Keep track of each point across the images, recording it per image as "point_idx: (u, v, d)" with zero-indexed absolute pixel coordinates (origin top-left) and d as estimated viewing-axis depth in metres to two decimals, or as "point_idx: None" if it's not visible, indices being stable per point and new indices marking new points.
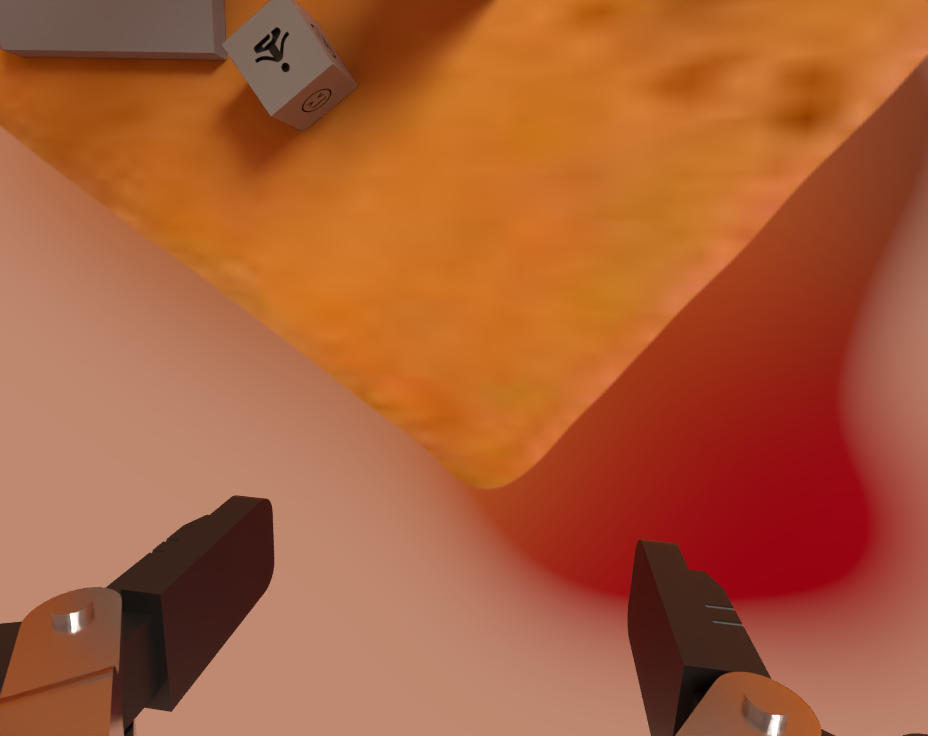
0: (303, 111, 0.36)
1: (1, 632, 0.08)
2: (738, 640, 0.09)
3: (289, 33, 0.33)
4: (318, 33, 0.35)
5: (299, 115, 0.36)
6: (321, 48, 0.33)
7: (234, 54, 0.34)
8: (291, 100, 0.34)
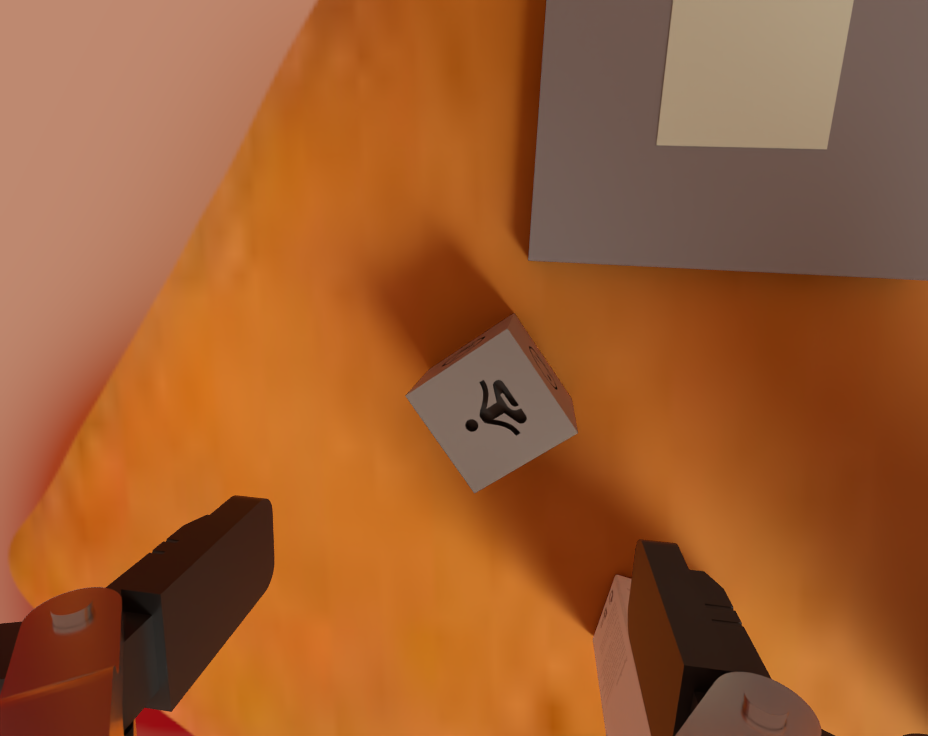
0: None
1: (1, 632, 0.08)
2: (738, 640, 0.09)
3: (518, 433, 0.22)
4: None
5: None
6: (495, 479, 0.23)
7: (492, 347, 0.22)
8: None
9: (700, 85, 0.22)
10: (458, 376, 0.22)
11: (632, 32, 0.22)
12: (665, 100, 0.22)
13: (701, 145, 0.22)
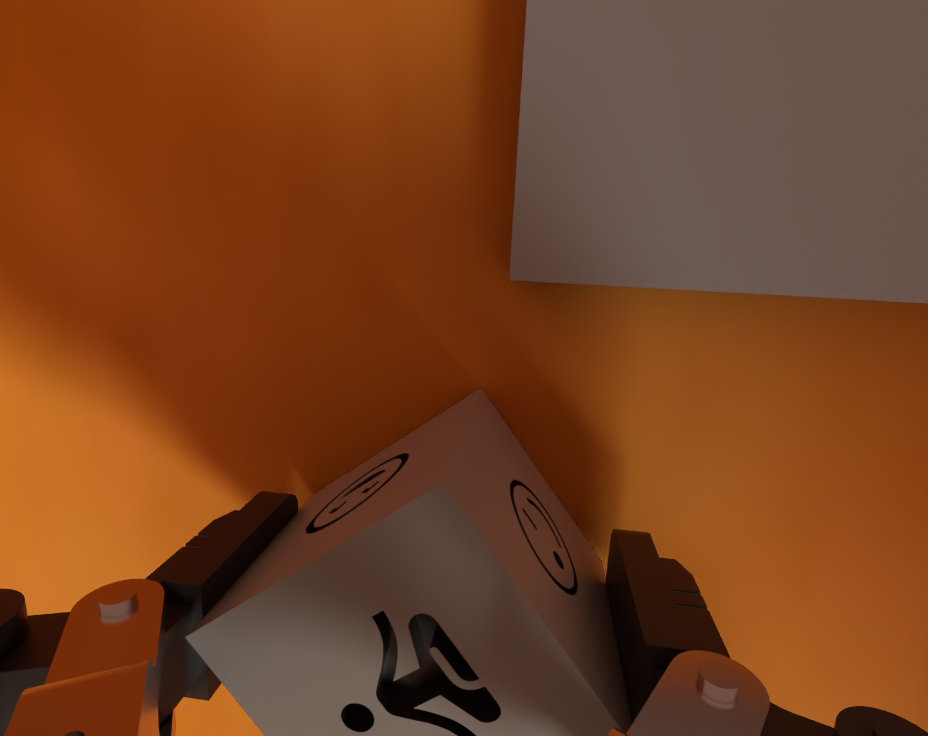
0: None
1: (47, 622, 0.08)
2: (702, 623, 0.09)
3: None
4: None
5: None
6: None
7: (404, 531, 0.08)
8: None
9: None
10: (316, 599, 0.08)
11: None
12: None
13: None
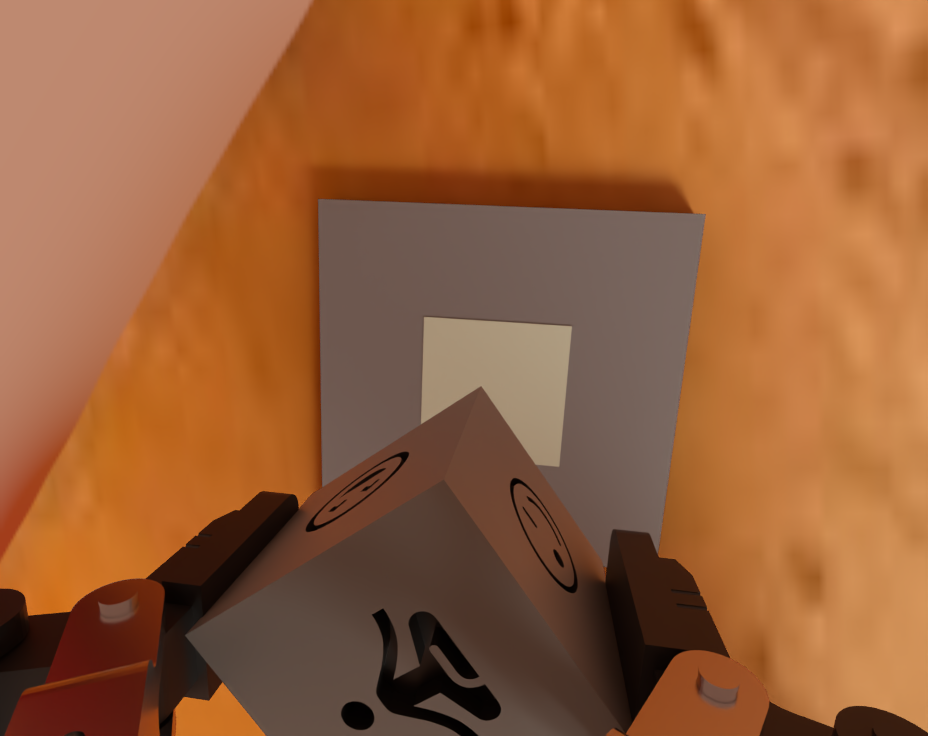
0: None
1: (47, 622, 0.08)
2: (702, 623, 0.09)
3: None
4: None
5: None
6: None
7: (404, 529, 0.08)
8: None
9: None
10: (316, 597, 0.08)
11: (393, 365, 0.25)
12: (425, 418, 0.25)
13: None
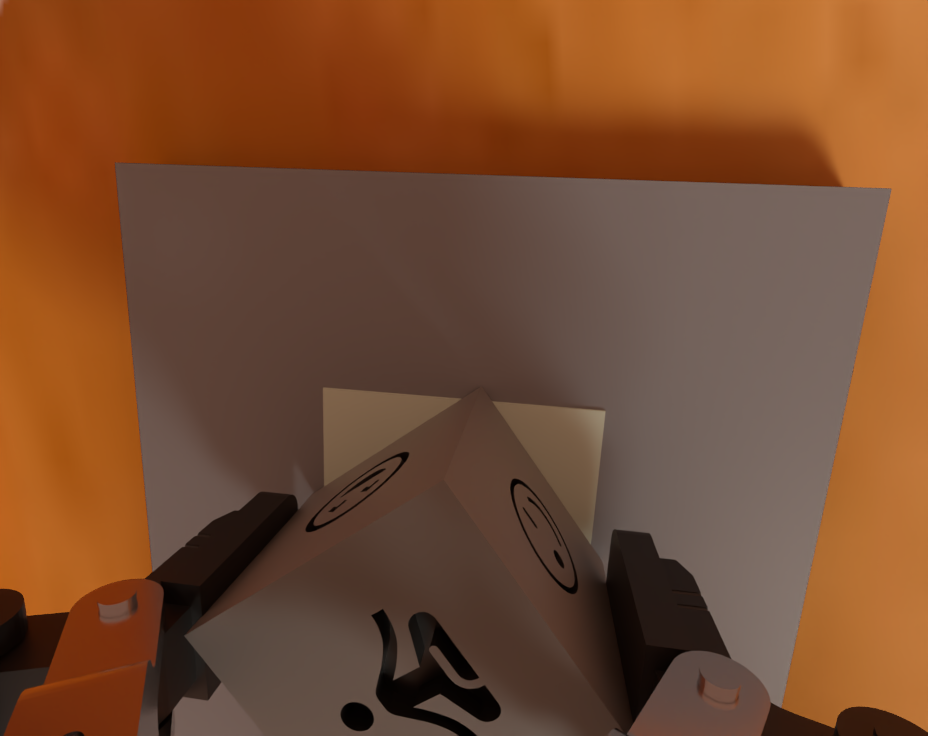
0: None
1: (47, 622, 0.08)
2: (702, 623, 0.09)
3: None
4: None
5: None
6: None
7: (404, 529, 0.08)
8: None
9: None
10: (315, 597, 0.08)
11: (271, 473, 0.14)
12: None
13: None
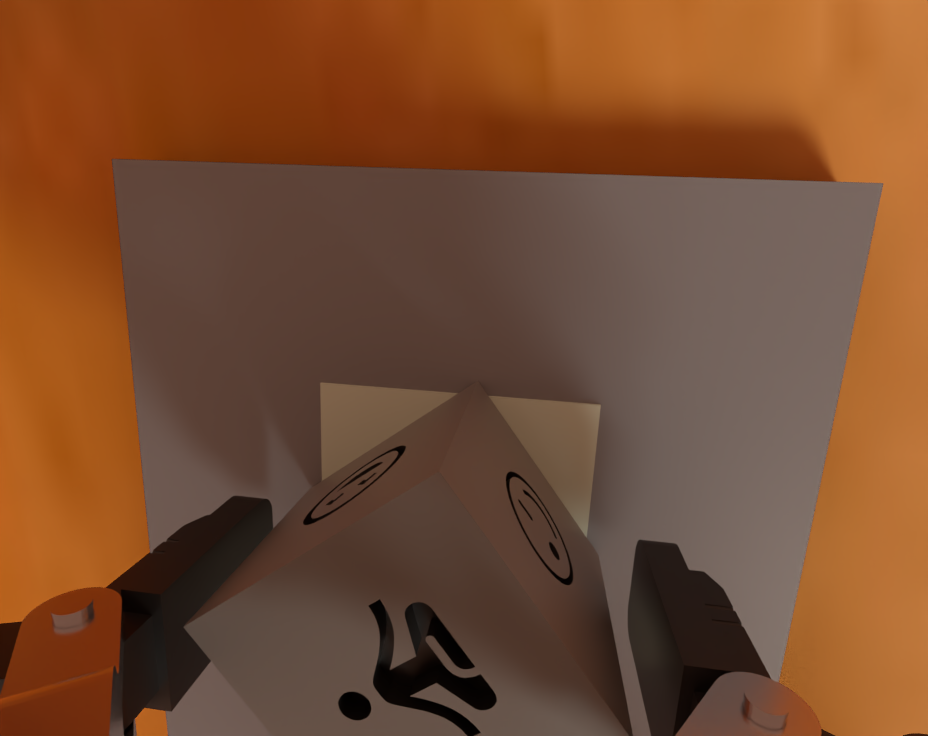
0: None
1: (1, 632, 0.08)
2: (738, 640, 0.09)
3: (476, 726, 0.09)
4: None
5: None
6: None
7: (400, 520, 0.08)
8: None
9: None
10: (313, 588, 0.08)
11: (269, 468, 0.14)
12: None
13: None
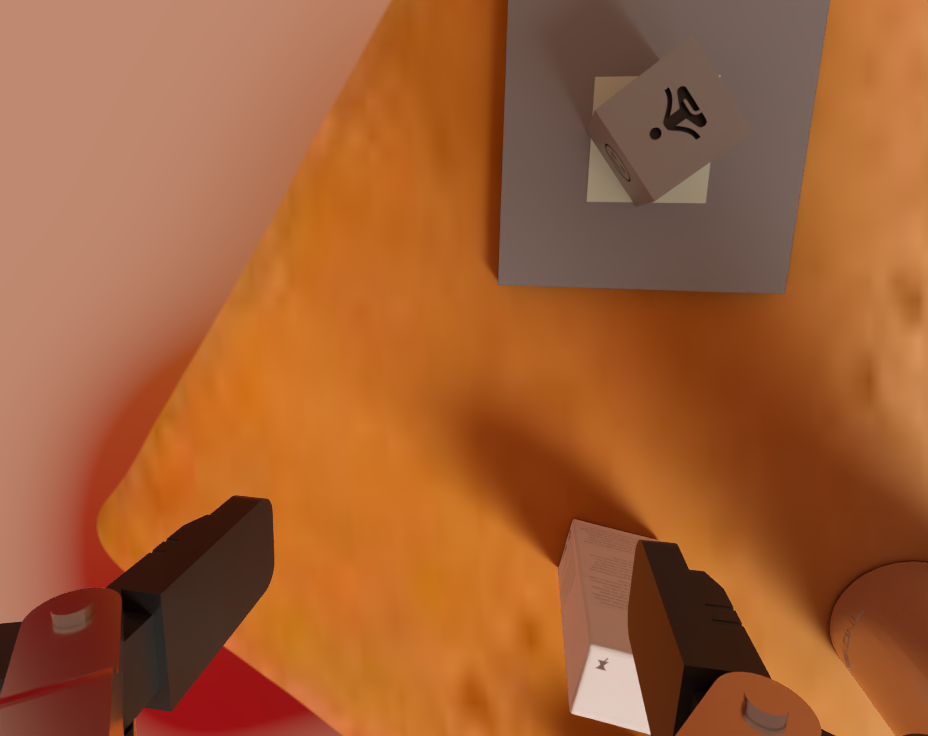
0: (605, 143, 0.28)
1: (2, 631, 0.08)
2: (738, 640, 0.09)
3: (697, 139, 0.25)
4: None
5: (601, 138, 0.28)
6: (674, 185, 0.26)
7: (678, 54, 0.24)
8: (614, 140, 0.26)
9: None
10: (645, 86, 0.25)
11: (566, 123, 0.30)
12: (591, 170, 0.31)
13: (618, 201, 0.31)
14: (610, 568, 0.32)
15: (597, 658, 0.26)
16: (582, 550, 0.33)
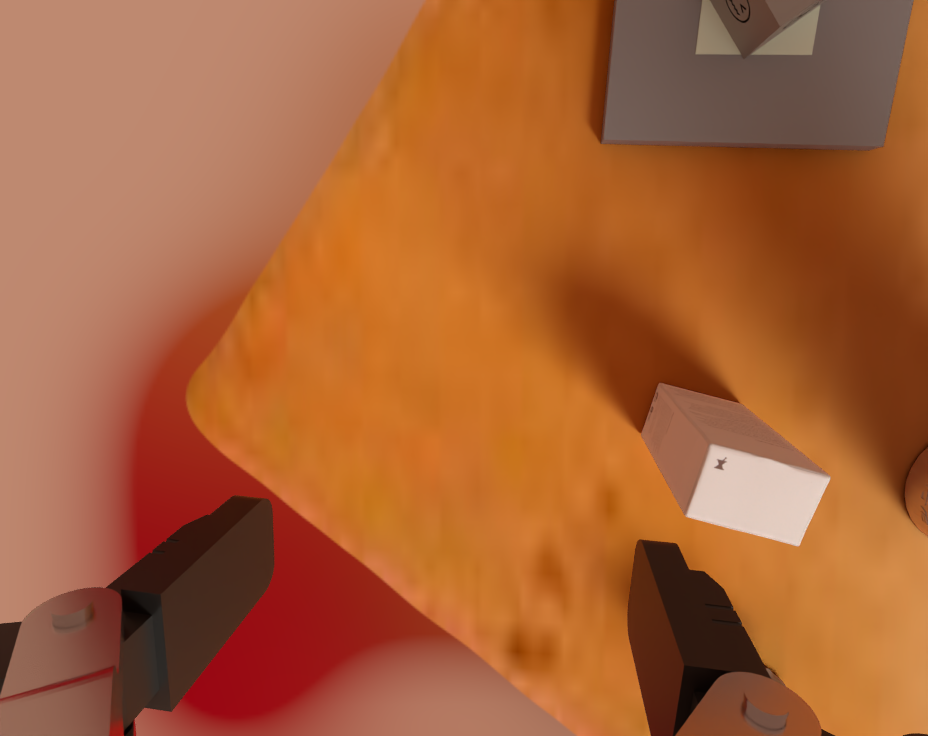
0: None
1: (1, 632, 0.08)
2: (738, 640, 0.09)
3: None
4: (815, 5, 0.29)
5: None
6: (800, 11, 0.27)
7: None
8: None
9: None
10: None
11: None
12: (702, 22, 0.32)
13: (726, 53, 0.32)
14: (706, 410, 0.33)
15: (716, 457, 0.27)
16: (676, 398, 0.35)
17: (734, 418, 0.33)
